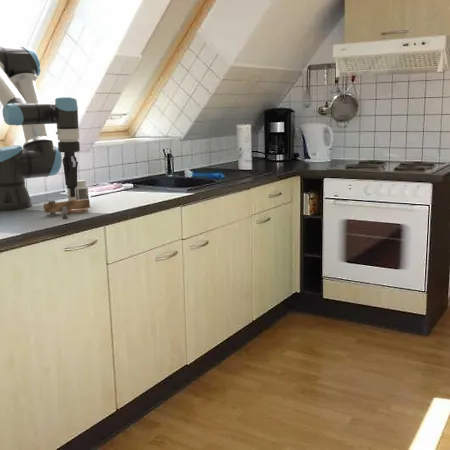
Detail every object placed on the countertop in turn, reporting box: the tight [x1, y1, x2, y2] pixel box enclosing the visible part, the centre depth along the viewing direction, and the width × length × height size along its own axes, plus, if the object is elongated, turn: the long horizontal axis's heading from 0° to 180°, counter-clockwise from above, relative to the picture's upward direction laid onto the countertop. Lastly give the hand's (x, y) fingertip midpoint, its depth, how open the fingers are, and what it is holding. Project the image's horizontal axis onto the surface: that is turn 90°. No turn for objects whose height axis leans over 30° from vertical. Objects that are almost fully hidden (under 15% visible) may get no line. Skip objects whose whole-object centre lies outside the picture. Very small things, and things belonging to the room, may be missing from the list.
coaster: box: [59, 208, 88, 214], centre depth 218 cm, size 10×10×1 cm
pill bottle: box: [76, 179, 90, 200], centre depth 227 cm, size 6×6×10 cm
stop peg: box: [61, 207, 69, 220], centre depth 203 cm, size 2×2×4 cm
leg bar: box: [43, 199, 91, 214], centre depth 212 cm, size 16×2×4 cm, turn 124°
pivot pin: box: [46, 212, 60, 217], centre depth 210 cm, size 4×4×1 cm
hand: (72, 205), depth 215 cm, fingers closed
